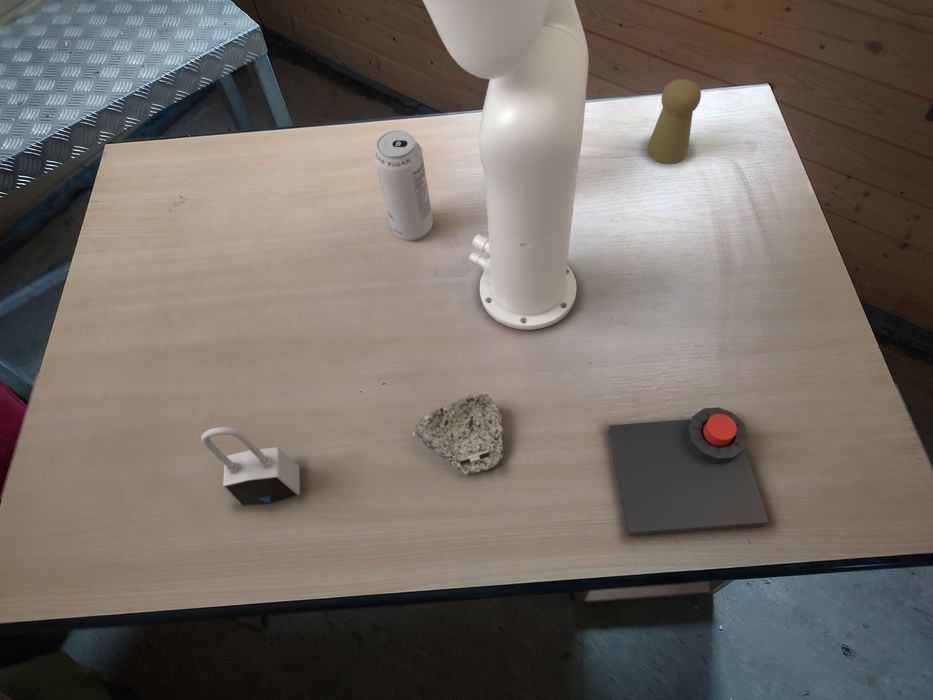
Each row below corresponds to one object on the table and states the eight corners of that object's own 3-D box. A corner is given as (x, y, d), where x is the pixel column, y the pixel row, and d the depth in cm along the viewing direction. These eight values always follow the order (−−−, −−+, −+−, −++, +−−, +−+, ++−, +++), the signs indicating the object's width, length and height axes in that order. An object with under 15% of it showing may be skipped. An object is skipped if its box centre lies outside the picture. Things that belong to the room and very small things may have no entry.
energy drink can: (396, 211, 91) (377, 126, 78) (436, 213, 90) (424, 127, 77) (388, 242, 88) (367, 158, 75) (429, 244, 87) (415, 160, 74)
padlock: (239, 509, 68) (177, 457, 56) (241, 473, 71) (181, 415, 58) (299, 498, 69) (250, 444, 56) (299, 463, 71) (252, 403, 58)
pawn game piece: (692, 142, 94) (711, 77, 85) (681, 168, 92) (700, 104, 82) (653, 133, 96) (667, 68, 87) (641, 158, 93) (655, 94, 84)
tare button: (707, 447, 66) (711, 440, 64) (699, 421, 67) (704, 414, 66) (735, 445, 66) (740, 438, 64) (727, 419, 67) (732, 412, 66)
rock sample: (461, 495, 63) (444, 414, 62) (420, 483, 70) (403, 409, 68) (532, 460, 70) (518, 385, 68) (489, 452, 76) (475, 383, 75)
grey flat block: (628, 536, 64) (632, 528, 62) (607, 426, 71) (610, 415, 68) (764, 526, 64) (775, 517, 61) (730, 417, 70) (738, 405, 68)
